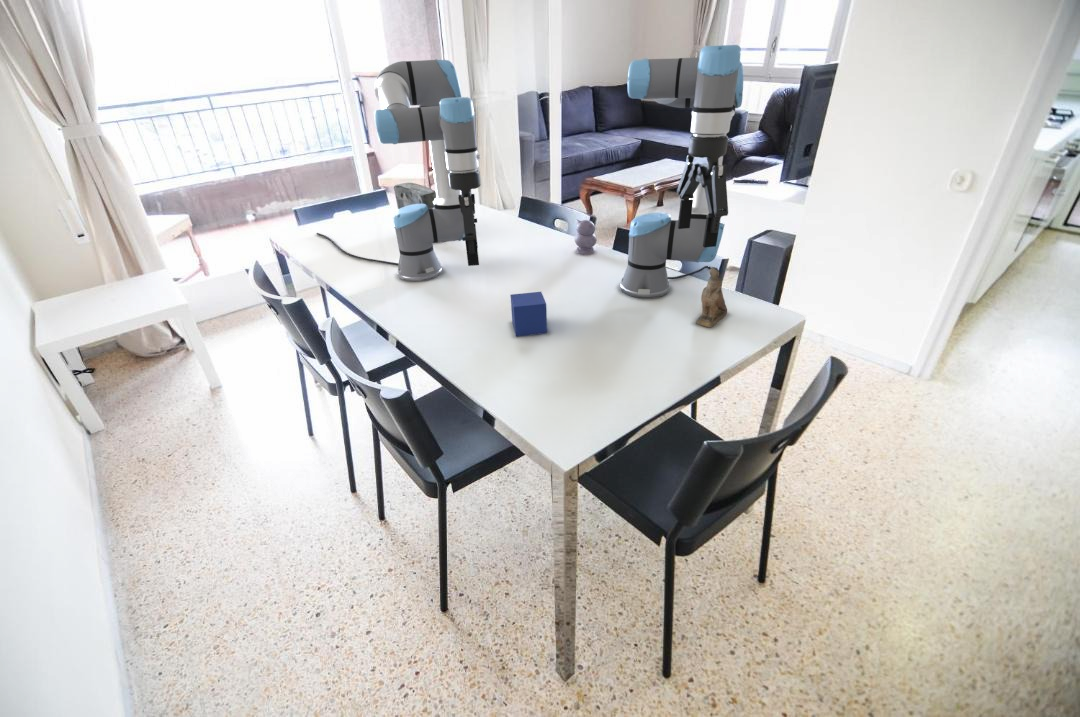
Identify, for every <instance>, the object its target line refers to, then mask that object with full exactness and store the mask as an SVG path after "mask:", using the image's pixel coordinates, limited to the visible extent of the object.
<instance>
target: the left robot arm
mask: <svg viewBox="0 0 1080 717" xmlns="http://www.w3.org/2000/svg"><path fill="white" fill-rule="evenodd" d="M459 81H460V80H459V77H458V74H457V71H456V67H455V65H454V64H453V62H451V61H450V60H449V59H448V60H447V59H437V58H436V59H428V60H427V59H426V60H425V59H424V60H408V61H407V60H400V61H397V62H394V63H391V64H389V65H388V66H386V67H384V68H383V69H382V70H381V71H380V72H378V74H377V76H376V78H375V80H374V85H373V89H374V95H375V97H376V99H377V101H378V103H380V109H377V110H374V112H373V117H374V123H375V128H376V134H377V138H378V141H379V143H381V144H383V145H391V144H392V145H397V144H408V143H418V142H419V143H421V142H428V143H429V150H430V157H431V163H432V169H433V170H432V172H433V180H434V185H435V186H434V187H435V192H436V199H435V200H434V201H433V205H434V208H428V207H427V205H426V204H412V205H408V206H405V207H402V208H400V209H398V208H397V210H395V211H394V213H393V216H392V219H393V228H394V229H395V235H396V241H397V247H398V251H399V259H398V262H393V261H392V262H391V261H386V260H380V259H373V258H368V257H363V256H360V255H355V254H353V253H350V252H347V251H346V250H344V249H342V248H341V247H340V246H339V245H338V244H337V243H336V242H335V241H334V240H333V239H331V238H330V237H329V236H327V235H325V234H322V233H319V232H316V233H315V234H316V235H317V236H320V237H323V238H325V239H326V240H328V241H329V242H331V243H332V245H334V246H335V247H336V248H337V249H338V250H339V251H340V252H342V253H343V254H346V255H347V256H350V257H352V258H355V259H359V260H363V261H367V262H368V261H369V262H375V263H381V264H386V265H394V266H397V276H398V278H399V279H400V280H402V281H406V282H413V283H414V282H425V281H429V280H432V279H435V278H438V277H439V276H440V275H441V274H442V273H443V268H442V264H441V263H440V260H439V259H438V256H437V254H436V252H435V250H434V244H440V243H441V244H442V243H449V242H457V241H458V242H461V241H462V242H465V251H466V258H467V266H468V267H472V266H479V265H480V261H479V260H480V259H479V251H478V250H479V246H478V237H477V229H476V228H477V227H476V226H477V225H476V224H477V223H478V218H476V217H475V214H476V207H475V204H476V196H475V193H472V190H475V189H478V188H480V187H481V185H482V182H481V172H480V171H479V170H478V169H479V167H480V166H479V160H480V159H481V158H482V156H481V154H479V152H478V143H477V132H476V119H475V116H476V112H475V111H474V110H475V109H474V104H473V103H474V102H473V100H472V99H471V98H470V97H469V96H466V97H465V96H462V90H461V86H460V82H459ZM412 106H413V107H412Z"/></svg>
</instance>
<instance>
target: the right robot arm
mask: <svg viewBox="0 0 1080 717" xmlns="http://www.w3.org/2000/svg"><path fill="white" fill-rule="evenodd" d="M741 54H742V48H741V46H740V45H738V44H724V45H723V44H721V45H706V46H703V47H702V48H701V50H700V52H699V57H678V58H677V57H676V58H643V59H634V60H632V61H631V62H630V64H629V67H628V72H627V95H628V98H630V99H634V100H635V99H638V100H653V101H654V102H656V103H657V104H660V105H663V106H667V107H672V108H678V109H691V112H690V114H691V122H690V131H689V132H690V133H691V134H692V135H691V136H690V137H689V143H688V151H687V152H688V154H687V156H686V159H685V165H684V168H683V171H682V174H681V178H680V180H679V183H678V186H677V188H676V195H678V196H679V199H680V201H679V212H678V219H677V220H676V219H672V217H671V215H670V214H669V213H666V212H650V213H645V214H641V215H637V216H636V217H635V218H633V219H632V220H631V221H630V226H629V233H628V252H627V265H626V268H625V270H624V273H623V277H622V278H621V281H620V287H619V288H620V291H621V292H622V293H623V294H625V295H627V296H630V297H633V298H637V299H656V298H660V297H661V298H662V297H663V296H666V295H668V293H669V292H670V286H671V285H670V280H677V279H682V278H686V277H689V276H693V275H695V274H697V273H701V272H702V271H703V270H705V269H708V270H710V269H711V268H712V267H711V266H709V265H704V266H702V267H701V268H699V269H697V270H694V271H691V272H688V273H684V274H681V275H678V276H668V271H667V261H678V262H689V263H691V262H692V263H711V262H713V261H714V260H715V259H716V257H717V255H718V251H719V247H720V244H721V240H722V238H723V234H724V230H725V229H724V228H725V222H723V221H721V219H722V217H727V216H728V215H729V204H728V188H727V169H728V167H727V166H728V165H727V164H723V161H724V156H725V155H726V154H727V149H728V143H729V137H728V135H727V134H728V133H729V132H730V128H731V121H732V120H733V117H734V116H735V114H736V109H739V108H740V107H742V104H743V93H744V65H743V62H742V61H741ZM708 266H709V267H708Z"/></svg>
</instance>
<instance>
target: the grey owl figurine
mask: <svg viewBox="0 0 1080 717" xmlns="http://www.w3.org/2000/svg"><path fill="white" fill-rule="evenodd" d="M575 220H576V232H577V233H576V234H575V236H574V242H575V245H576V246H577V247H576V253H577V254H579V255H583V256H584V255H585V256H587V255H591V254H593V253H594V252H595V251H594V246H595V245H596V244H597V240H598V239H597V236H596V235H595V232H596V225H595V223H593V221H591V220H588V219H583V220H580V219H575Z"/></svg>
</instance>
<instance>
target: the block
mask: <svg viewBox="0 0 1080 717" xmlns="http://www.w3.org/2000/svg"><path fill="white" fill-rule="evenodd" d="M509 295H510V310H511V322H512V327H513V331H514V335H515V337H516V338H517V337H525V336H526V337H527V336H533V335H543V334H548V316H547V315H548V313H547V312H548V310H547V301H546V299H545V297H544V295H543V292H542V291H534V292H533V291H532V292H523V293H512V294H509Z"/></svg>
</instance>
